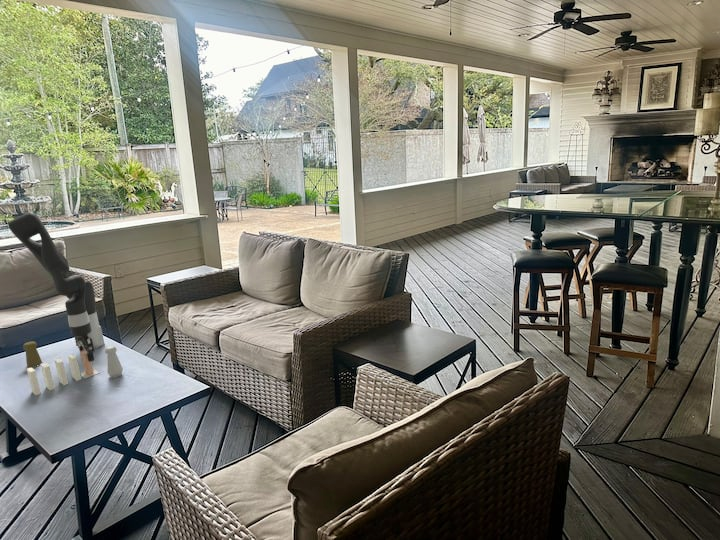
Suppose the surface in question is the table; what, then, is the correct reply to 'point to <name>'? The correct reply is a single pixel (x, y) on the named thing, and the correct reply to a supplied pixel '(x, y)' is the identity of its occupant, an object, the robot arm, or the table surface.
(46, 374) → the domino
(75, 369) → the domino
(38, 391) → the domino
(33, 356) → the cork
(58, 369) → the domino
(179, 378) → the table surface
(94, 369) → the block
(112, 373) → the salt shaker
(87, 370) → the domino
